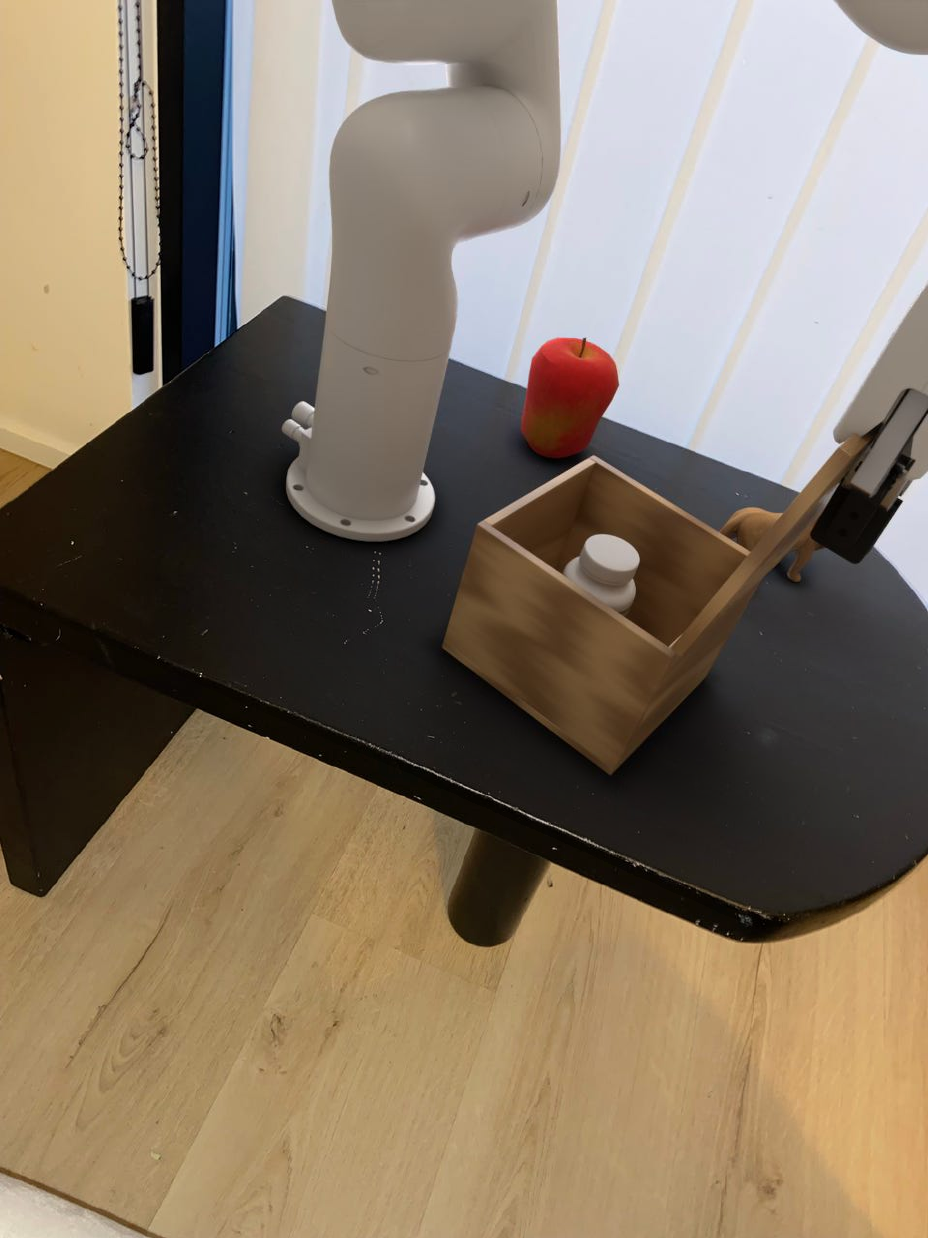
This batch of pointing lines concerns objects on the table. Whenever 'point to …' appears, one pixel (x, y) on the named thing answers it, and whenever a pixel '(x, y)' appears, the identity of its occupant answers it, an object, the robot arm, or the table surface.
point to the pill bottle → (606, 571)
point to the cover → (779, 537)
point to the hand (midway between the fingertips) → (837, 545)
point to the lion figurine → (756, 524)
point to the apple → (567, 396)
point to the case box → (592, 610)
